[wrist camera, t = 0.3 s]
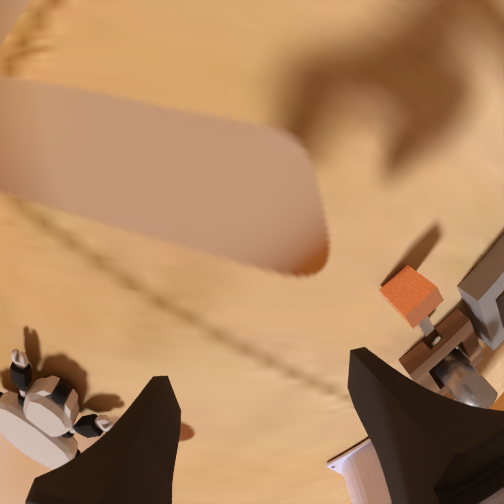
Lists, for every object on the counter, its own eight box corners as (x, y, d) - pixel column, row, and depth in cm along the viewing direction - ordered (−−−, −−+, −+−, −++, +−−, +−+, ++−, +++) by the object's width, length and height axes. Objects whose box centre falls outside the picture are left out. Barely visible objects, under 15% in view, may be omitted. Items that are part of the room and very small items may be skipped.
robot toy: (25, 326, 22) (-6, 398, 23) (1, 351, 17) (-22, 421, 19) (128, 406, 25) (73, 458, 27) (119, 440, 21) (64, 484, 22)
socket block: (472, 347, 25) (484, 358, 23) (422, 392, 26) (432, 405, 24) (456, 307, 23) (470, 319, 21) (398, 360, 24) (409, 374, 22)
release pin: (436, 315, 22) (462, 340, 19) (412, 337, 23) (435, 364, 19) (407, 264, 21) (436, 286, 17) (379, 289, 21) (404, 316, 17)
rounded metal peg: (454, 350, 24) (498, 399, 17) (432, 370, 25) (472, 423, 17) (446, 334, 24) (495, 385, 16) (422, 356, 24) (467, 412, 17)
